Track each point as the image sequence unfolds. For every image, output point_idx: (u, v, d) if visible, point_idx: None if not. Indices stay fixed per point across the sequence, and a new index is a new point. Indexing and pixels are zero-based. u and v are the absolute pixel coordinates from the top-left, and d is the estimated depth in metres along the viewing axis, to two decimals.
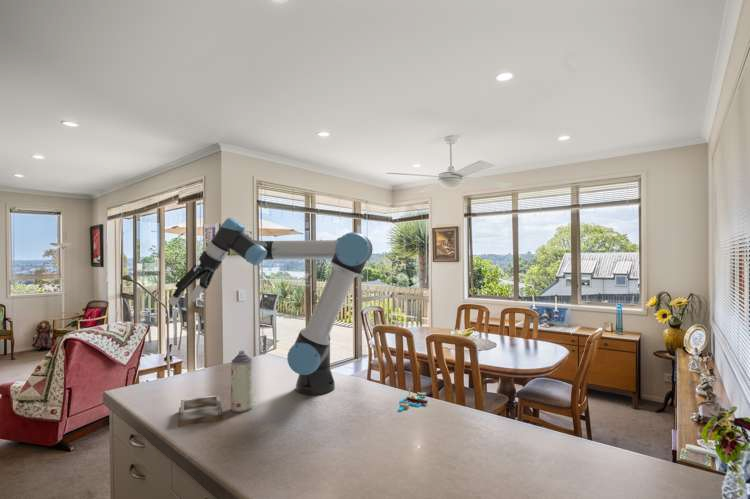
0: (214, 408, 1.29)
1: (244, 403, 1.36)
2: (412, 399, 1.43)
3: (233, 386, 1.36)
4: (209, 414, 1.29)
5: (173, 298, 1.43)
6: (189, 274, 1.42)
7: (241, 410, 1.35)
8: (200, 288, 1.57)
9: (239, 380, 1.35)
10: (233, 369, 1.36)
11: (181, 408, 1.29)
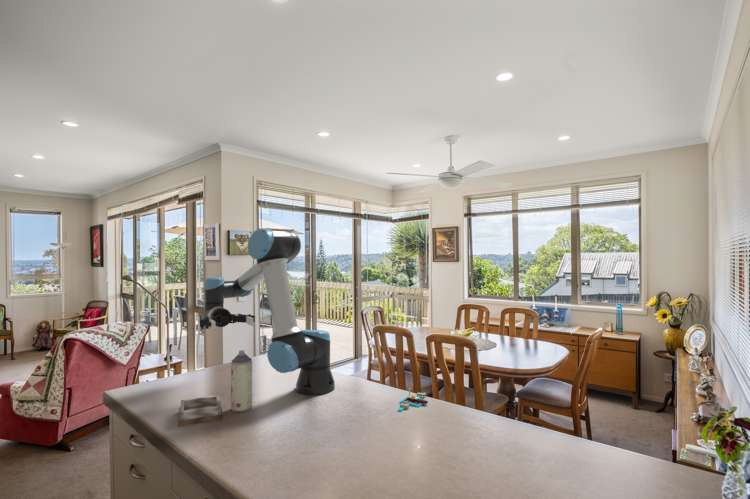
0: (214, 408, 1.29)
1: (244, 403, 1.36)
2: (412, 399, 1.43)
3: (233, 386, 1.36)
4: (209, 414, 1.29)
5: (211, 325, 1.45)
6: None
7: (241, 410, 1.35)
8: (246, 318, 1.55)
9: (239, 380, 1.35)
10: (233, 369, 1.36)
11: (181, 408, 1.29)
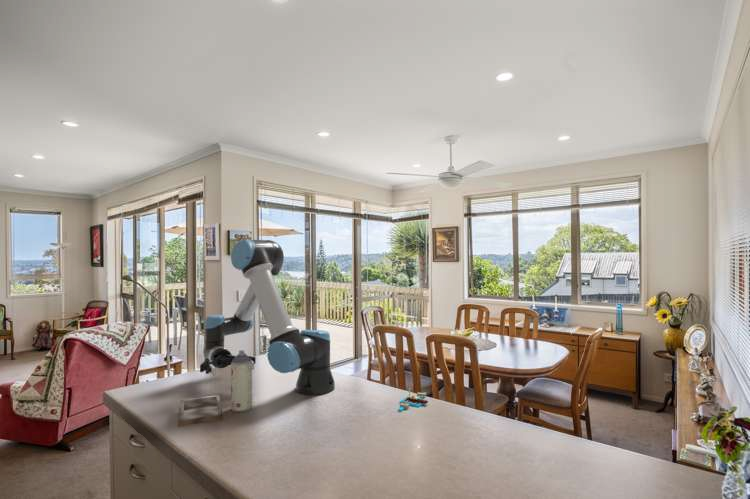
0: (214, 408, 1.29)
1: (244, 403, 1.36)
2: (412, 399, 1.43)
3: (233, 386, 1.36)
4: (209, 414, 1.29)
5: (212, 371, 1.43)
6: None
7: (241, 410, 1.35)
8: None
9: (239, 380, 1.35)
10: (233, 369, 1.36)
11: (181, 408, 1.29)
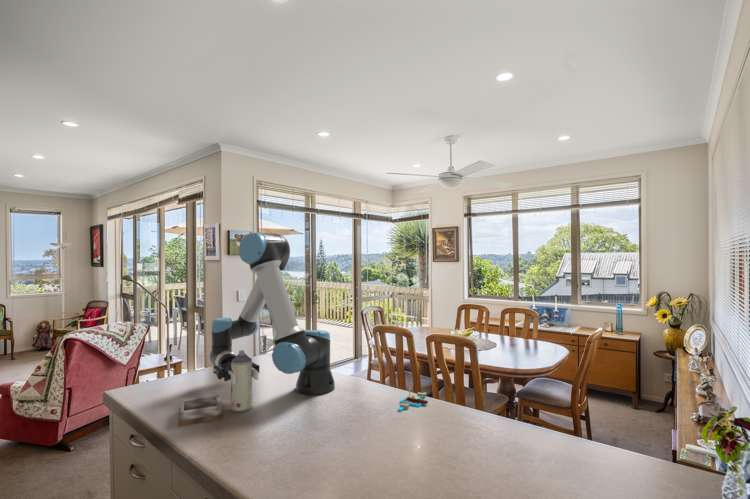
0: (214, 408, 1.29)
1: (244, 403, 1.36)
2: (412, 399, 1.43)
3: (233, 386, 1.36)
4: (209, 414, 1.29)
5: (231, 378, 1.34)
6: (216, 372, 1.42)
7: (241, 410, 1.35)
8: None
9: (239, 380, 1.35)
10: (233, 369, 1.36)
11: (181, 408, 1.29)
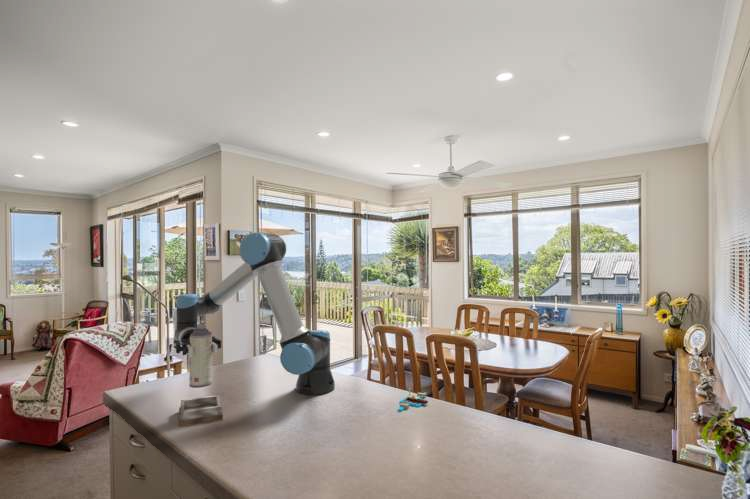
0: (214, 408, 1.29)
1: (202, 377, 1.31)
2: (412, 399, 1.43)
3: (191, 360, 1.31)
4: (209, 414, 1.29)
5: (188, 352, 1.29)
6: None
7: (199, 385, 1.30)
8: None
9: (197, 354, 1.30)
10: (191, 342, 1.31)
11: (181, 408, 1.29)
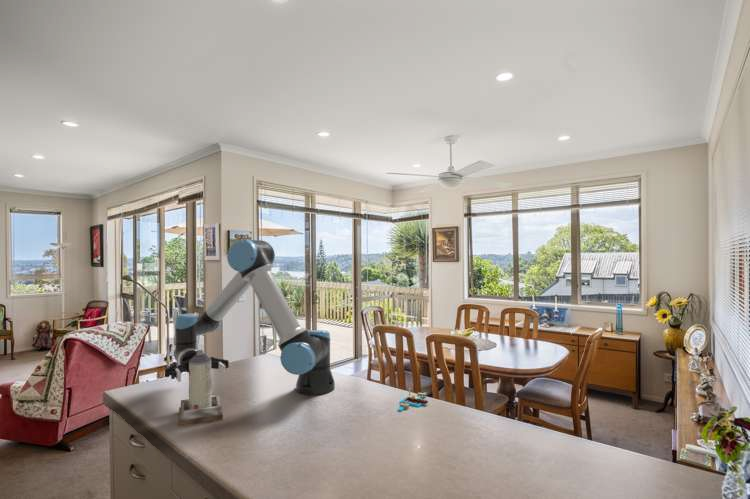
0: (214, 408, 1.29)
1: (202, 404, 1.30)
2: (412, 399, 1.43)
3: (190, 387, 1.30)
4: (209, 414, 1.29)
5: (177, 376, 1.28)
6: None
7: None
8: (218, 364, 1.39)
9: (196, 381, 1.30)
10: (190, 369, 1.31)
11: (181, 408, 1.29)
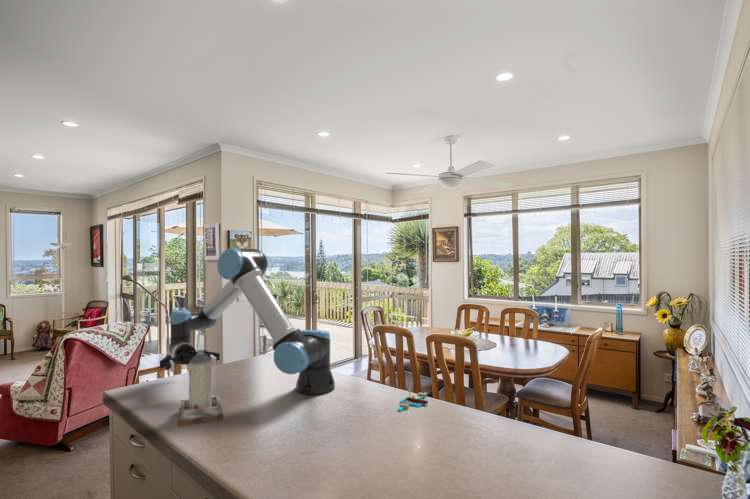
0: (214, 408, 1.29)
1: (202, 404, 1.30)
2: (412, 399, 1.43)
3: (191, 387, 1.30)
4: (209, 414, 1.29)
5: (171, 367, 1.39)
6: None
7: None
8: (210, 357, 1.50)
9: (197, 381, 1.30)
10: (191, 369, 1.31)
11: (181, 408, 1.29)
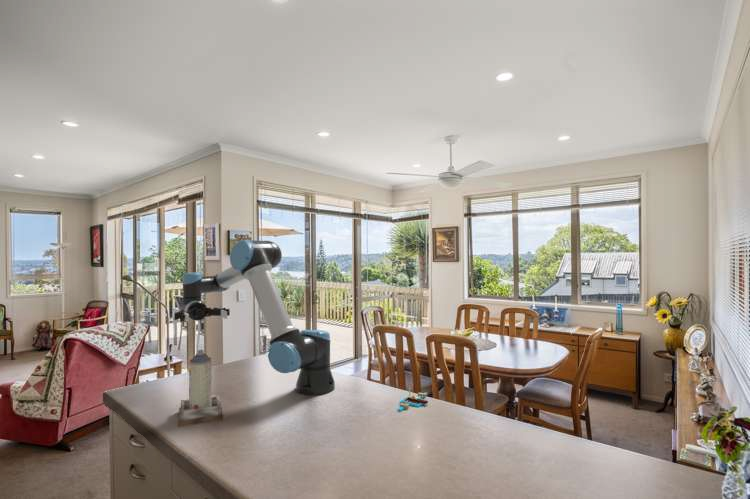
0: (214, 408, 1.29)
1: (202, 404, 1.30)
2: (412, 399, 1.43)
3: (191, 387, 1.30)
4: (209, 414, 1.29)
5: (185, 318, 1.50)
6: None
7: None
8: (221, 311, 1.60)
9: (197, 381, 1.30)
10: (191, 369, 1.31)
11: (181, 408, 1.29)
